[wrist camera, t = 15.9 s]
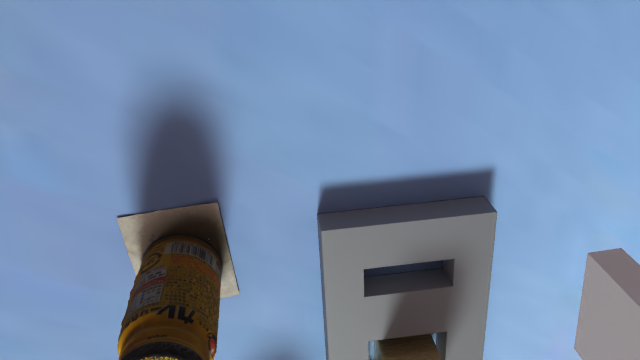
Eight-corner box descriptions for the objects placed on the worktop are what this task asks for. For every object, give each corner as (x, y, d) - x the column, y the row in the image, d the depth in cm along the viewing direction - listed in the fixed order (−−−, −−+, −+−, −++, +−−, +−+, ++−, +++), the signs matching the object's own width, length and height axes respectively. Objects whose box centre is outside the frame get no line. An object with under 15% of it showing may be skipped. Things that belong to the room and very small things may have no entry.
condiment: (147, 308, 44) (117, 437, 34) (117, 216, 41) (71, 328, 30) (239, 292, 45) (238, 414, 34) (217, 200, 41) (208, 304, 30)
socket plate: (484, 196, 44) (497, 212, 41) (468, 378, 52) (478, 399, 50) (317, 214, 42) (321, 231, 40) (328, 397, 51) (332, 419, 49)
